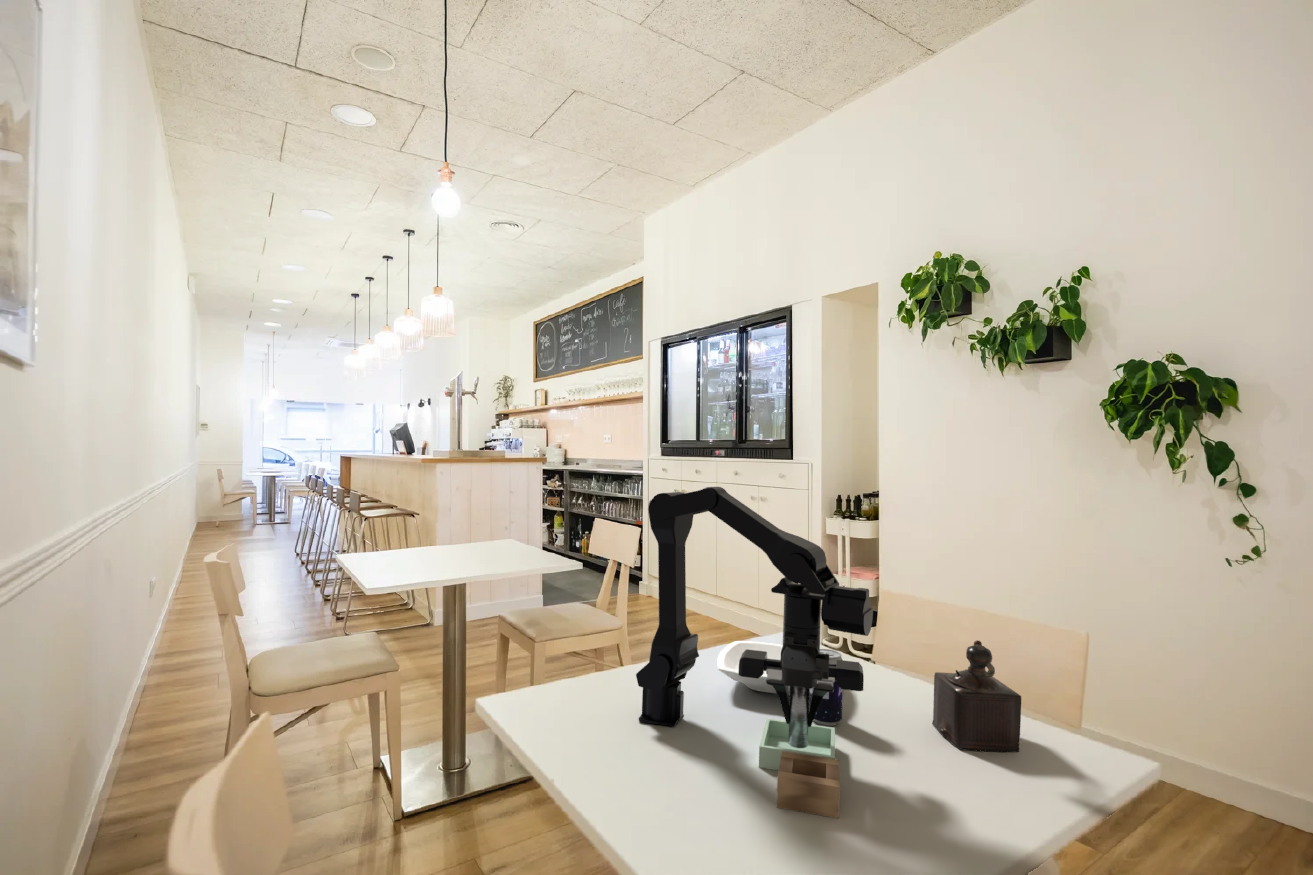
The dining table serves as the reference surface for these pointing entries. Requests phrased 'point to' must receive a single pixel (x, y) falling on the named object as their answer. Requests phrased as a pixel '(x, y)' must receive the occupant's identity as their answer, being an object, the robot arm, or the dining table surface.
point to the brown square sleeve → (808, 784)
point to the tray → (777, 741)
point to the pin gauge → (798, 717)
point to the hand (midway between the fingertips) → (798, 724)
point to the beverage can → (830, 697)
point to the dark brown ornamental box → (977, 706)
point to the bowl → (732, 655)
